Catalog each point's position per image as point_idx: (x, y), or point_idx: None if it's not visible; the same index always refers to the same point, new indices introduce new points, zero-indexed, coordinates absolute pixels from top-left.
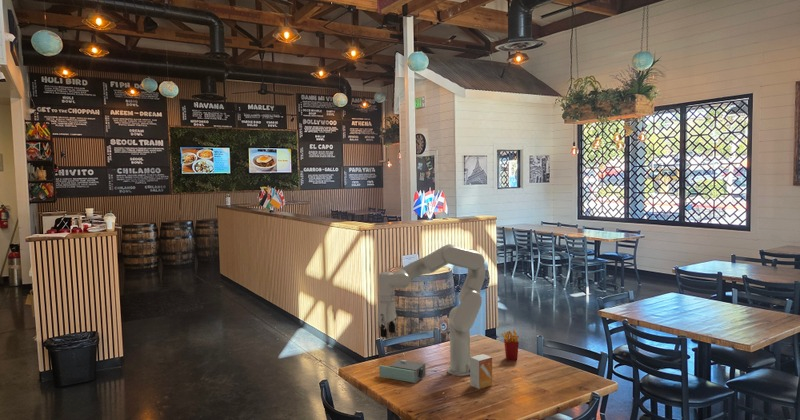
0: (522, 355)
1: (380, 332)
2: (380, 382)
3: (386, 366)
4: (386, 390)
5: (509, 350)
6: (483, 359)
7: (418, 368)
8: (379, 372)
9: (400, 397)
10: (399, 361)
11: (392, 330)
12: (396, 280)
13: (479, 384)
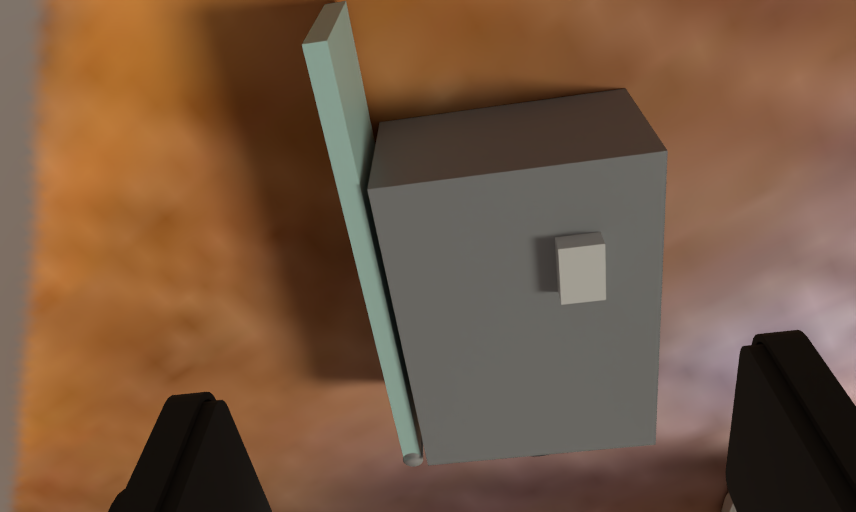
0: None
1: (123, 506)
2: (219, 113)
3: (342, 151)
4: (126, 276)
5: None
6: None
7: (486, 458)
8: (317, 17)
9: (121, 421)
10: (579, 201)
11: (759, 498)
12: None
13: None
